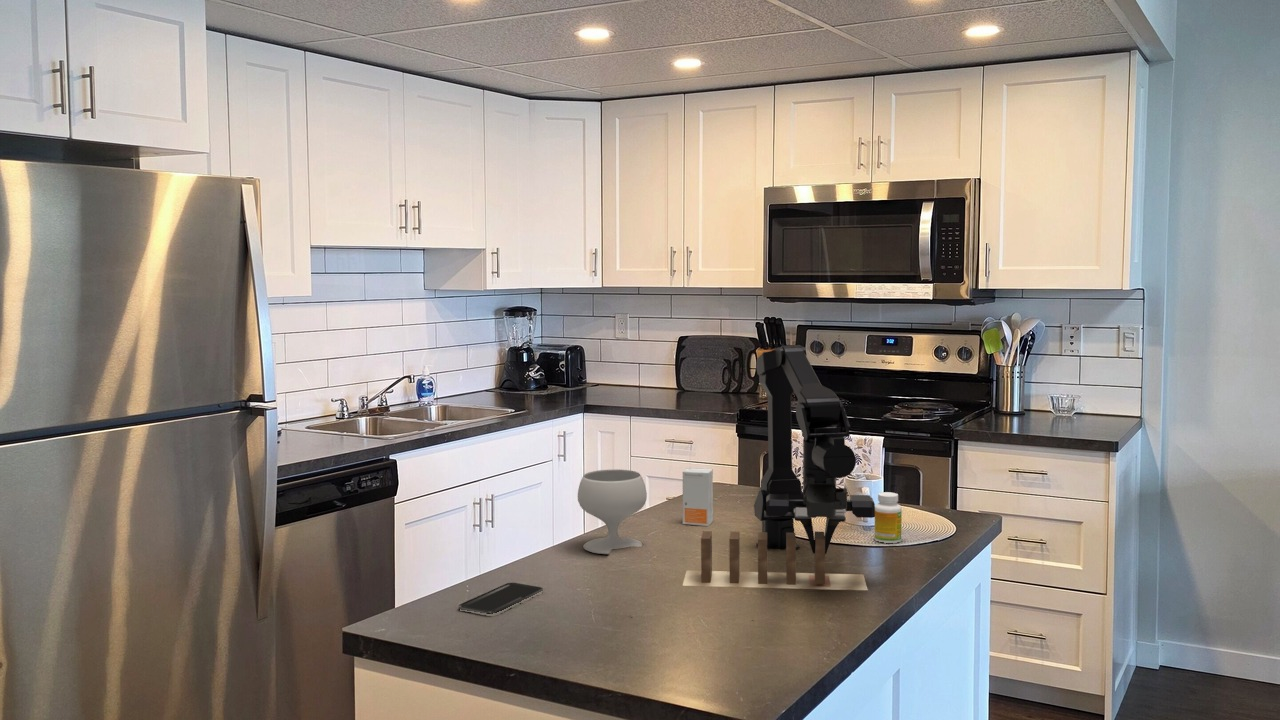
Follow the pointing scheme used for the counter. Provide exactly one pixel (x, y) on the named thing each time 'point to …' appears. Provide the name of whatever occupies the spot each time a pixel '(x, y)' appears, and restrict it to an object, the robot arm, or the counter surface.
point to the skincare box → (698, 496)
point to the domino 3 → (762, 557)
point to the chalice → (611, 504)
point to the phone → (500, 598)
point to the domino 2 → (734, 557)
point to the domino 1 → (706, 557)
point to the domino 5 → (819, 558)
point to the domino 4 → (791, 558)
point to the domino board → (778, 580)
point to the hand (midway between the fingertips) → (819, 553)
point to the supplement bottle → (888, 518)
